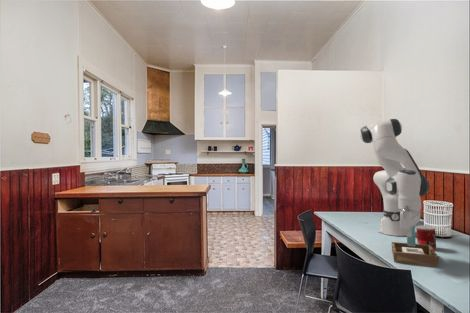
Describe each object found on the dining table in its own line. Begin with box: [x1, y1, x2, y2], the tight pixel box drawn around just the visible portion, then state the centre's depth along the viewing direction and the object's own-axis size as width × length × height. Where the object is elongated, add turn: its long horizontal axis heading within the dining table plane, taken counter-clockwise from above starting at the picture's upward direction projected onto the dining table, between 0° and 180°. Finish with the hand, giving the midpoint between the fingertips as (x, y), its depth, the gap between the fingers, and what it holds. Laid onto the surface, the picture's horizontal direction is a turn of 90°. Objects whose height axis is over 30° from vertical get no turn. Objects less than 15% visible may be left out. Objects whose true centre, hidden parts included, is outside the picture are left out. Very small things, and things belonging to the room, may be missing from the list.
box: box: [391, 241, 439, 268], centre depth 123 cm, size 16×16×5 cm
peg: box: [406, 225, 417, 246], centre depth 123 cm, size 3×3×12 cm
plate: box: [402, 247, 424, 254], centre depth 123 cm, size 8×8×4 cm
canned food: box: [415, 224, 437, 251], centre depth 136 cm, size 8×8×11 cm
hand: (411, 235), depth 123 cm, fingers closed on peg, 3 cm apart
